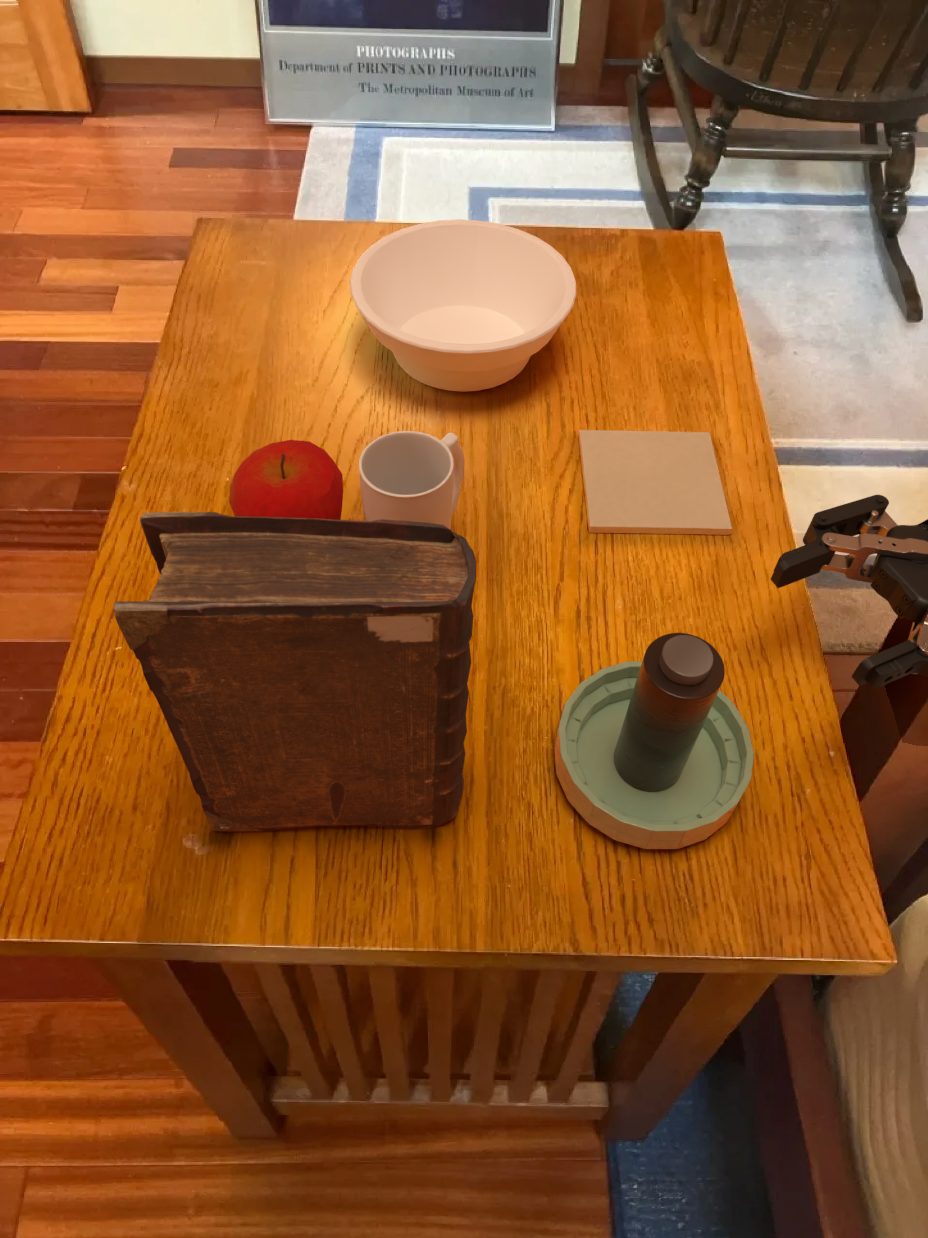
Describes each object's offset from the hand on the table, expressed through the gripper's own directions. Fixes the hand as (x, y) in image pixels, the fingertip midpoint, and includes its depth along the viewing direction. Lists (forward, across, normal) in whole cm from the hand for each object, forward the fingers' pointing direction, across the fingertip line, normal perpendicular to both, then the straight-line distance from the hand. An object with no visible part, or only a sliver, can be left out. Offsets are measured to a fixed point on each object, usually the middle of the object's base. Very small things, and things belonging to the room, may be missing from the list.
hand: (816, 623), depth 60 cm
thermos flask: (+11, 0, +10) cm, 15 cm away
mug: (+18, -24, +11) cm, 31 cm away
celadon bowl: (+11, 0, +11) cm, 15 cm away
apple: (+27, -28, +11) cm, 40 cm away
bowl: (+3, -47, +11) cm, 48 cm away
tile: (-4, -24, +11) cm, 26 cm away
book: (+31, -6, +11) cm, 34 cm away
